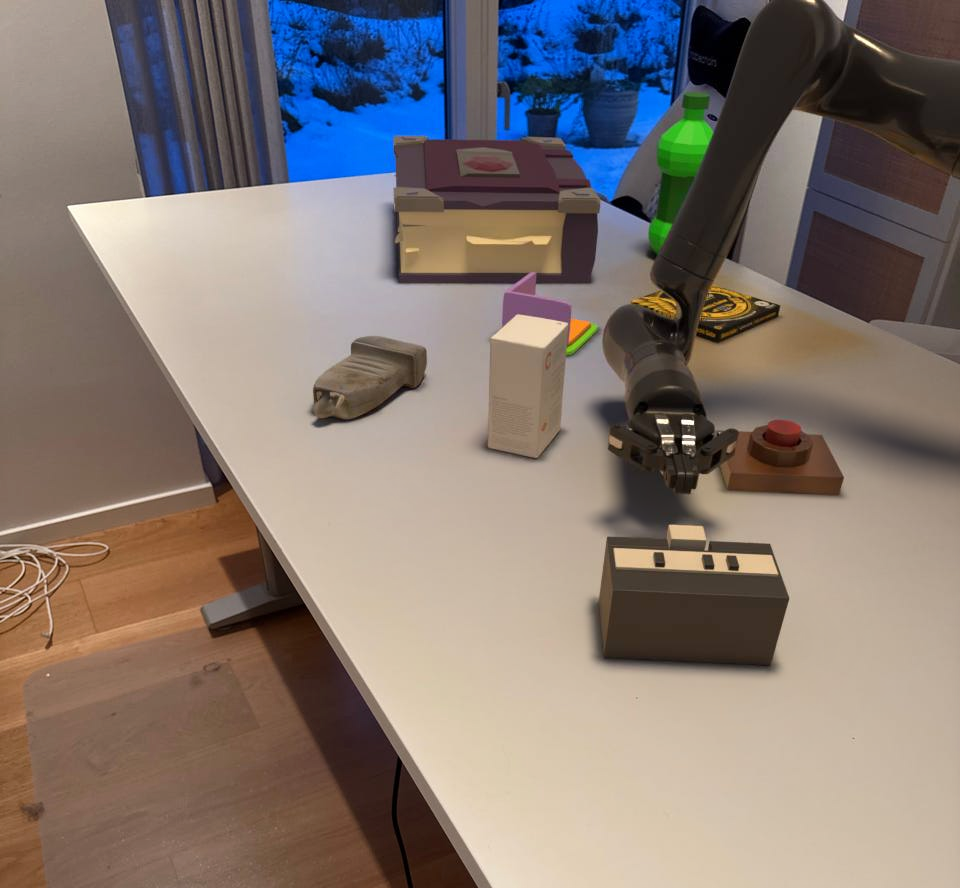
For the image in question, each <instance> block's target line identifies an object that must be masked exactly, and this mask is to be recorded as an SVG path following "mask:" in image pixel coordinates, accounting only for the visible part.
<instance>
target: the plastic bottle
mask: <svg viewBox="0 0 960 888" xmlns="http://www.w3.org/2000/svg"><path fill="white" fill-rule="evenodd" d="M710 97H711V95H710V94H709V93H705V92H695V91H694V92H691V91H689V92H683V95H682V100H681V101H682V102H681V108H683V109H684V110H683V117H682V118H681V119H680V120H679V121H677V122H676V123H675V124H673V125H672V126H671V127H669V128H668V129H667V130H666V131H665V132H664V133H662V135H661V136H660V138H659V140H658V143H657V149H656V162H657V166H658V168H659V169H660V171H661V176H660V183H659V191H658V199H657V204H656V205H657V207H656V214H655V216H654V217H653V219H652V220H651V222H650V224H649V227H648V241H649V246H650V247H651V250H652V251H653V252H654V253H655V255H656V256H657V255H658V253H659V251H660V249H661V247H662V245H663V243H664V241H665V238H666V236H667V234H668V232H669V230H670V228H671V226H672V224H673V222H674V220H675V218H676V216H677V214H678V212H679V210H680V208H681V206H682V204H683V202H684V200H685V198H686V196H687V193H688V191H689V189H690V187H691V185H692V183H693V180H694V178H695V176H696V173H697V171H698V169H699V167H700V164H701V162H702V160H703V157H704V155H705V152H706V150H707V147H708V145H709V142H710V140H711V137H712V134H713V132H714V130H713V129H712V128H711V126H709V124H708V123H707V122H706V121H705V119H704V116H705V110H708V109H709V105H710Z"/></svg>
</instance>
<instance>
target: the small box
mask: <svg viewBox="0 0 960 888" xmlns="http://www.w3.org/2000/svg"><path fill="white" fill-rule="evenodd" d="M567 337H568V323H565V322H561V321H556V320H550V319H544V318H538V317H532V316H525V315H518V314H517V315H516V316H515V317H514V318H512V319H511V320H510V321H509V322H508V323H507V324H506V325H505V326H503V327H502V326H501V328H500V329H499V330H497V332H496V333H494V334H492V336H491V337H489V377H488V378H489V379H488V380H489V381H488V415H487V416H488V417H487V418H488V420H487V448H488V449H491V450H497V451H502V452H504V453H505V452H506V453H510V454H515V455H519V456H523V457H529V458H533V459H538V458H539V457H540V456H541V454H542V453H543V452H544V451H545V449H546V448H547V447H548V445H550V443H551V442H552V441H553V439H554V438H555V437H556V436H557V435H558V433H559V432H560V431H561V425H562V413H563V396H564V384H565V372H566V362H567V355H566V350H567Z"/></svg>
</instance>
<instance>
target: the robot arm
mask: <svg viewBox="0 0 960 888" xmlns="http://www.w3.org/2000/svg"><path fill="white" fill-rule="evenodd" d="M739 52H740V53H739V56H738V58H737V62H736V65H735V67H734V71H733V75H732V77H731V80H730V84H729V87H728V90H727V92H726V96H725V99H724V102H723V105H722V107H721V109H720V114H719V116H718V118H717V122H716V124H715V126H714V129H713V134H712V137H711V140H710V142H709V145H708V147H707V150H706V152H705V155H704V157H703V160H702V162H701V164H700V167H699V169H698V171H697V173H696V176H695V178H694V180H693V183H692V185H691V187H690V189H689V191H688V193H687V196H686V198H685V200H684V202H683V204H682V206H681V208H680V210H679V212H678V214H677V216H676V218H675V220H674V222H673V224H672V226H671V228H670V230H669V232H668V234H667V236H666V238H665V241H664V243H663V245H662V247H661V249H660V251H659V253H658V255H657V254H656V258H655V259H654V260H653V261H654V262H653V263H652V266H651V268H650V272H649V278H650V279H649V280H650V281H651V283H652V285H654V286H655V287H656V288H657V289H658V290H659V291H660V290H661V291H662V292H664V293H665V294H666V295H668V296H669V297H670V298H672V299H673V300H674V301H675V303H676V314H675V316H674V318H673V319H671V318H669V317H667V316H664V315H662V314H660V313H658V312H655V311H653V310H651V309H649V308H646V307H644V306H641V305H638V304H631V303H628V304H624V305H622V306H619V307H617V309H616V310H614V311H613V313H612V314H611V315H610V316H609V318H608V319H607V320H606V323H605V325H604V329H603V332H602V340H601V341H602V343H601V344H602V347H601V348H602V352H603V356H604V358H605V361H606V362H607V365H608V366H609V367H610V368H611V369H612V371H613V372H614V373H615V374H616V376H617V377H618V378H619V379H620V381H622V382H623V383H624V387H625V388H624V389H625V390H624V391H625V392H624V398H625V399H624V400H625V402H624V406H625V411H626V413H627V417H628V423H627V427H625V426H624V425H622V424H619V423H612V424H611V425H610V427H609V436H608V437H609V438H608V444H607V450H608V452H610V453H612V454H614V455H615V456H616V457H617V456H618V457H619V458H621V459H623V460H624V461H626V462H628V463H629V464H631V465H632V466H634V467H636V468H638V469H639V470H641V471H643V472H645V473H652V472H654V471H655V470H658V471H660V474H661V475H662V476H663V479H664V483H665V486H666V487H667V489H672V491H673V494H676V495H691V492H692V490H696V489H697V487H698V483H699V477H700V474H701V475H709V474H710V473H712V472H713V471H714V470H716V469H717V468H720V465H721V464H723V463H724V462H726V461H727V460H728V459H730V458H731V457H733V456H734V454H735V449H736V445H737V440H738V435H739V430H738V429H736V428H727V429H726V430H721V431H717V430H716V426H715V424H714V423H713V422H712V420H711V421H710V420H709V419H708V417H707V413H706V412H707V411H706V409H705V408H706V407H705V405H704V401H703V399H702V395H701V393H700V390H699V387H698V384H697V381H696V379H695V377H694V374H693V373H692V371H691V370H690V368H689V364H690V361H691V357H692V354H693V351H694V347H695V343H696V337H697V336H696V332H697V328H698V324H699V320H700V316H701V313H702V310H703V307H704V304H705V301H706V298H707V295H708V293H709V290H710V288H711V286H712V285H714V282H715V280H716V278H717V276H718V274H719V273H720V270H721V269H722V267H723V265H724V263H725V261H726V259H727V257H728V255H729V253H730V252H731V249H732V247H733V245H734V243H735V241H736V238H737V236H738V234H739V232H740V229H741V227H742V224H743V221H744V219H745V216H746V213H747V210H748V207H749V204H750V201H751V198H752V195H753V191H754V188H755V184H756V182H757V179H758V176H759V174H760V171H761V169H762V168H763V167H762V166H763V164H764V162H765V161H766V157H767V155H768V154H769V151H770V150H771V147H772V145H773V144H774V142H775V139H776V138H777V136H778V134H779V132H780V130H781V129H782V127H783V126H784V124H785V123H786V121H787V120H788V118H789V117H790V115H791V113H792V112H793V111H799V112H802V113H807V114H810V115H815V116H818V117H823V118H826V119H829V120H833V121H836V122H838V123H839V122H840V123H843V124H846V125H850V126H852V127H855V128H858V129H861V130H863V131H865V132H868V133H871V134H872V135H874V136H876V137H878V138H880V139H881V140H883V141H885V142H886V143H888V144H889V145H891V146H893V147H894V148H896V149H897V150H899V151H901V152H902V153H904V154H906V155H908V156H909V157H912V158H913V159H915V160H917V161H919V162H921V163H923V164H925V165H926V166H929V167H931V168H933V169H935V170H936V171H939V172H941V173H943V174H945V175H947V176H951V177H952V178H954V179H957V180H959V181H960V60H954V59H946V58H937V57H931V56H923V55H918V54H914V53H909V52H906V51H903V50H900V49H897V48H895V47H893V46H890V45H888V44H886V43H884V42H883V41H880V40H878V39H876V38H874V37H872V36H870V35H868V34H866V33H863V32H862V31H860V30H859V29H856V28H855V27H853V26H852V25H849V24H848V23H846V22H845V21H844V20H842V19H841V18H840V17H839V16H838V15H837V14H836V13H835V12H834V10H833V9H832V8H831V6H830V5H829V4H828V3H827V2H826V1H825V0H769V1H768V2H767V3H766V4H765V5H764V6H763V7H762V8H761V9H760V10H759V11H758V13H757V14H756V16H755V17H754V19H753V20H752V21H751V23H750V25H749V28H748V29H747V33H746V35H745V38H744V41H743V43H742V46H741V49H740V51H739ZM722 431H724V432H722ZM640 451H643V454H642V455H641V454H640Z"/></svg>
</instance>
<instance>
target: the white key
mask: <svg viewBox="0 0 960 888" xmlns="http://www.w3.org/2000/svg"><path fill="white" fill-rule="evenodd" d="M665 539H667V540H668V545H669V549H686V550H706V545H707V537H706V533H705V529H704V526H703V525H684V524H668V528H667V532H666V538H665Z"/></svg>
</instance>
